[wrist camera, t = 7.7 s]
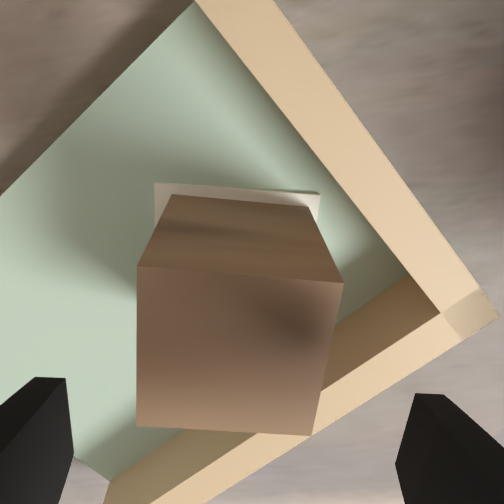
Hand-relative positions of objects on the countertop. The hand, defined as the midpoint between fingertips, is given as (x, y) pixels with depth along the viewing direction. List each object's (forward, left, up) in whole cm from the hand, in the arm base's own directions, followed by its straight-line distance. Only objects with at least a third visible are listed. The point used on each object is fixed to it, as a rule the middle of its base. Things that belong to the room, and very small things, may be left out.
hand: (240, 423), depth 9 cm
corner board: (0, +3, -10) cm, 10 cm away
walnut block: (0, 0, -8) cm, 9 cm away
